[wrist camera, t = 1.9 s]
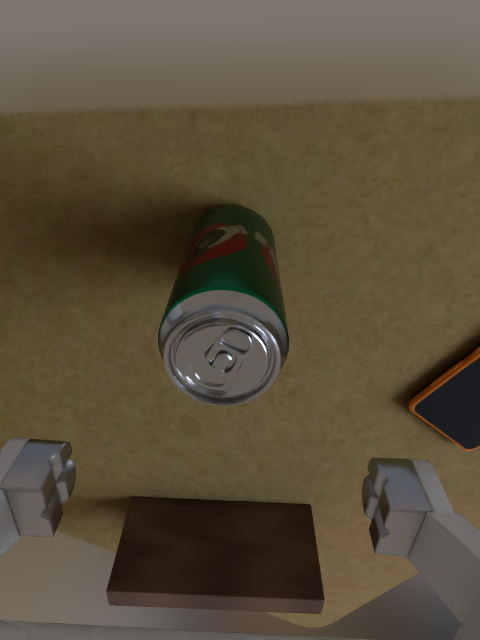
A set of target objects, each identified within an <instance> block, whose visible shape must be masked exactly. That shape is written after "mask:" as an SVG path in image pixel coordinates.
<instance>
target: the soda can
mask: <svg viewBox="0 0 480 640" xmlns="http://www.w3.org/2000/svg"><path fill="white" fill-rule="evenodd" d="M158 345H159V351H160V354H161V357H162V359H163V361H164V366H165V369H166V372H167V374H168V376H169V378H170V380H171V381H172V382H173V384H174V385H175V386H176V387H177V388H178V389H179V390H180V391H181V392H183V393H184V394H185V395H187V396H188V397H190V398H192V399H194V400H196V401H199V402H202V403H205V404H210V405H216V406H232V405H239V404H242V403H246V402H249V401H251V400H253V399H255V398H257V397H259V396H260V395H262V394H263V393H264V392H265V391H267V390H268V389H269V387H270V386H271V385H272V384H273V382H274V381H275V379H276V377H277V375H278V373H279V371H280V369H281V368H282V366H283V365H284V362H285V360H286V358H287V354H288V349H289V336H288V329H287V323H286V316H285V309H284V302H283V296H282V289H281V282H280V275H279V269H278V262H277V255H276V248H275V242H274V236H273V233H272V231H271V229H270V227H269V225H268V224H267V222H266V221H265V220H264V219H263V218H262V217H261V216H260V215H259V214H257V213H256V212H254V211H252V210H250V209H248V208H245V207H242V206H236V205H226V206H221V207H218V208H215V209H212V210H211V211H209V212H207V213H206V214H205V215H203V216H202V217H201V218H200V219H199V220H198V221H197V223H196V224H195V226H194V228H193V230H192V232H191V235H190V238H189V241H188V244H187V247H186V250H185V253H184V256H183V259H182V262H181V265H180V268H179V271H178V274H177V277H176V280H175V283H174V286H173V289H172V291H171V294H170V297H169V300H168V303H167V306H166V309H165V312H164V315H163V318H162V321H161V324H160V328H159V333H158Z"/></svg>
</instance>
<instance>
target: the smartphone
mask: <svg viewBox="0 0 480 640" xmlns="http://www.w3.org/2000/svg"><path fill="white" fill-rule="evenodd" d="M408 406H409V409H410V411H411V412H413V413H414V414H415V415H417V416H418V417H419V418H421V419H422V420H424V421H425V422H426V423H428V424H429V425H431V426H432V427H433V428H435V429H436V430H437V431H439V432H440V433H442V434H443V435H444V436H446V437H447V438H448V439H450V440H451V441H453V442H454V443H455V444H457V445H458V446H460V447H461V448H462V449H464V450H466V451H471V450H474V449H476V448H478V447H479V446H480V347H478V348H477V349H476V350H474V351H473V353H472V354H470V355H469V356H468V357H466V358H465V359H464V360H461V361H460V362H459V363H457V364H456V365H455V366H453V367H452V368H451V369H449V370H448V371H447V372H445V373H444V374H443V375H441V376H440V377H439V378H437V379H436V380H435V381H434V382H432V383H431V384H430V385H429V386H428V387H427V388H425V389H424V390H423V391H422V392H420V393H419V394H418V395H416V396H415V397H414V398H412V399H411V401H410V402H409V404H408Z"/></svg>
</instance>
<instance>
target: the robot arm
mask: <svg viewBox="0 0 480 640" xmlns="http://www.w3.org/2000/svg"><path fill="white" fill-rule="evenodd" d="M71 453H72V449H71V445H70V442H65V441H53V440H40V439H24V438H11V439H10V440H8V441H7V442H6V443H5V445H4V446H3V448H2V449H1V451H0V556H1V555H2V554H3V553H4V552H5V551H7V550H8V549H9V548H10V547H11V546H12V545H13V544H14V543H15V542H16V541H17V540H18V539H19V538H20V537H19V536H35V537H53V536H54V534H55V531H56V529H57V527H58V524H59V522H60V520H61V518H62V515H63V511H62V507H61V505H62V504H63V503H65V502H66V501H67V500H68V499H70V496H71V494H72V491H73V489H74V484H75V479H76V468H75V463H74V462H73V461H72V460H71V459H70V458H69V457H70V455H71ZM368 470H369V474H370V475H368V476H367V477H366V478H364V482H363V486H362V502H363V508H364V512H365V515H366V516H367V517H368V518H369V519H370V520H371V521H372V522H371V525H370V528H369V532H370V536H371V540H372V544H373V547H374V551H375V554H381V555H394V556H406V557H408V559H409V560H410V562H411V563H412V564H413V565H414V567H415V568H416V569H417V570H418V571H419V573H420V574H421V575H422V576H423V578H424V579H425V580H426V581H427V583H428V584H429V585H430V586H431V587H432V589H433V590H434V591H435V592H436V594H437V595H438V596H439V597H440V598H441V600H442V601H443V602H444V603H445V604H446V606H447V607H448V608H449V609H450V611H451V612H452V613H453V614H454V616H455V617H456V618H457V619H458V621H459V622H460V623H461V624H462V625H461V627H460V628H459V630H458V632H457V633H456V635H455V637H454V638H453V640H480V530H479V529H477V528H476V527H475V526H474V525H473V524H472V523H470V522H469V521H468V520H467V519H466V518H465V517H463V516H462V515H461V514H456V513H454V511H453V509H452V507H451V505H450V502H449V500H448V498H447V496H446V494H445V492H444V489H443V487H442V485H441V483H440V481H439V479H438V477H437V474H436V472H435V470H434V468H433V466H432V464H431V463H430V462H429V461H428V460H414V459H409V460H408V459H395V458H371V460H370V461H369V464H368ZM0 640H368V639H350V638H331V637H312V636H293V635H274V634H254V633H236V632H216V631H196V630H178V629H157V628H156V629H155V628H137V627H119V626H100V625H99V626H98V625H79V624H61V623H42V622H22V621H2V620H0Z"/></svg>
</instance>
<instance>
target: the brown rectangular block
mask: <svg viewBox="0 0 480 640" xmlns="http://www.w3.org/2000/svg"><path fill="white" fill-rule="evenodd" d="M106 592H107V597H108V602H109V605H115V606H139V607H164V608H187V609H211V610H236V611H237V610H238V611H260V612H284V613H308V614H321V611H322V608H323V604H324V601H325V599H324V592H323V585H322V578H321V571H320V564H319V557H318V550H317V544H316V537H315V530H314V523H313V516H312V509H311V505H301V504H278V503H256V502H234V501H211V500H189V499H166V498H144V497H131V501H130V505H129V508H128V512H127V516H126V519H125V523H124V527H123V531H122V534H121V538H120V542H119V546H118V549H117V553H116V557H115V561H114V565H113V568H112V572H111V576H110V579H109V583H108V587H107V590H106Z"/></svg>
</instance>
